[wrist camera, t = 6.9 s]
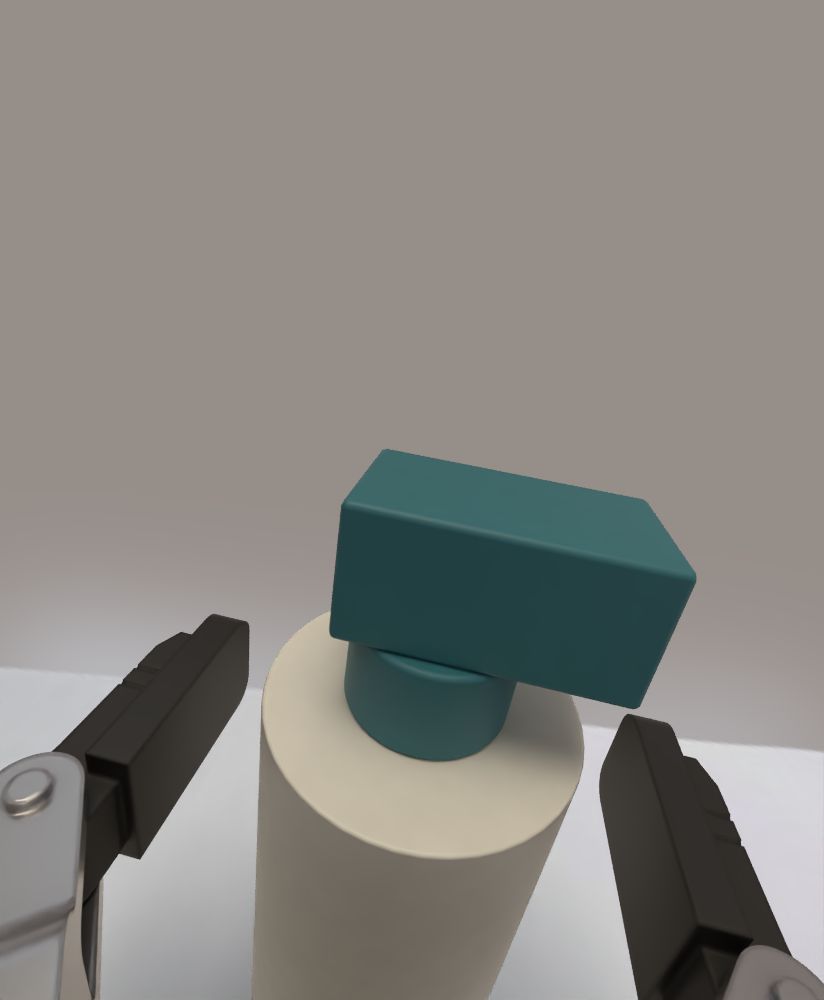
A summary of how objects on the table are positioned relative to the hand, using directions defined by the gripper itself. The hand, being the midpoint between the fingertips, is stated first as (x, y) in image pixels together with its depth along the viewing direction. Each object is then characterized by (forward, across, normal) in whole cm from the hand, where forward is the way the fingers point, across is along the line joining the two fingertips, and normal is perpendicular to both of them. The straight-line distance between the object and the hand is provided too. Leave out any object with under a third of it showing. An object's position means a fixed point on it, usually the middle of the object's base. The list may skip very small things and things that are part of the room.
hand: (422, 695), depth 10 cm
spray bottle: (-2, 0, +10) cm, 10 cm away
